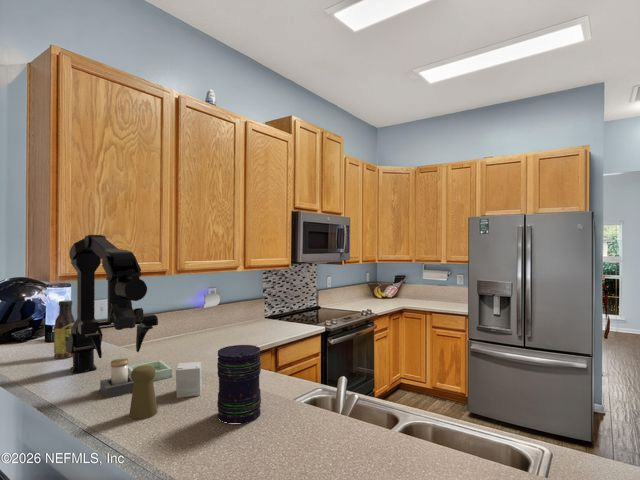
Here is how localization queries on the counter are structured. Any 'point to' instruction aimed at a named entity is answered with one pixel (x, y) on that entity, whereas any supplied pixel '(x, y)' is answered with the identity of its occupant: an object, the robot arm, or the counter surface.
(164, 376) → the parts tray
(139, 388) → the olive pepper mill
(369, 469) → the counter surface
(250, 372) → the storage jar
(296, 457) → the counter surface
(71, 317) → the sauce bottle
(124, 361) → the fuse
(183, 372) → the skincare box
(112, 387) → the socket block
